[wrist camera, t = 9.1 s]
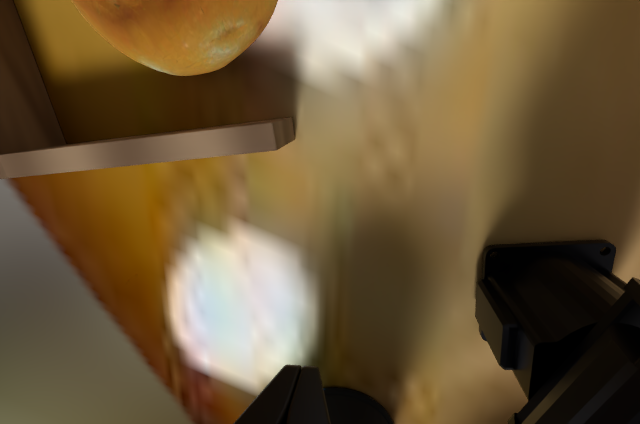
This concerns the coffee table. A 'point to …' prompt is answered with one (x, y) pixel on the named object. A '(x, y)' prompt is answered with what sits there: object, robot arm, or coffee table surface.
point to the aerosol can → (354, 408)
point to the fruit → (179, 30)
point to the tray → (57, 157)
